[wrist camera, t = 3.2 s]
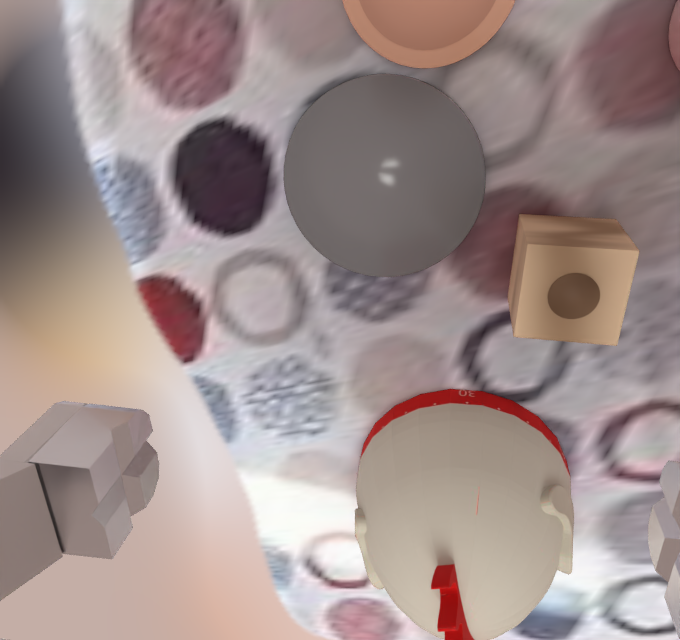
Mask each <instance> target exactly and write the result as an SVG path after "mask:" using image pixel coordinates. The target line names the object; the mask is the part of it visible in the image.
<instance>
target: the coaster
mask: <svg viewBox="0 0 680 640" xmlns="http://www.w3.org/2000/svg"><path fill="white" fill-rule="evenodd" d="M284 187H285V194H286V198H287V202H288V206H289V208H290V211H291V214H292V216H293V218H294V220H295V222H296V224H297V226H298V228H299V229H300V231H301V232H302V234H303V235H304V237H305V238H306V239H307V240H308V241H309V242H310V244H311V245H312V246H313V247H314V248H315V249H316V250H318V251H319V252H320V253H321V254H322V255H323V256H325V257H326V258H328V259H329V260H330V261H332V262H334V263H335V264H337V265H339V266H341V267H343V268H345V269H348V270H350V271H353V272H356V273H360V274H364V275H369V276H376V277H395V276H403V275H408V274H412V273H416V272H418V271H421V270H424V269H426V268H428V267H430V266H432V265H434V264H436V263H438V262H439V261H441V260H442V259H444V258H445V257H446V256H448V255H449V254H450V253H451V252H452V251H453V250H454V249H456V248H457V247H458V246H459V244H460V243H461V242H462V241H463V240H464V239H465V237H466V236H467V234H468V233H469V231H470V230H471V228H472V227H473V225H474V223H475V221H476V218H477V216H478V214H479V211H480V208H481V205H482V202H483V196H484V191H485V164H484V157H483V152H482V148H481V144H480V142H479V139H478V137H477V134H476V132H475V130H474V128H473V126H472V124H471V123H470V121H469V119H468V118H467V116H466V115H465V114H464V112H463V111H462V110H461V109H460V108H459V107H458V106H457V104H456V103H455V102H454V101H453V100H452V99H450V98H449V97H448V96H447V95H445V94H444V93H443V92H441V91H440V90H438V89H437V88H435V87H433V86H431V85H429V84H428V83H425V82H423V81H420V80H417V79H415V78H411V77H407V76H403V75H395V74H373V75H367V76H362V77H358V78H355V79H352V80H349V81H347V82H344V83H342V84H340V85H339V86H337V87H335V88H333V89H331V90H330V91H328V92H327V93H325V94H324V95H323V96H321V97H320V98H319V99H318V100H317V101H316V102H315V103H314V104H312V105H311V106H310V108H309V109H308V110H307V111H306V112H305V114H304V115H303V116H302V117H301V119H300V121H299V122H298V124H297V126H296V127H295V129H294V131H293V134H292V136H291V138H290V141H289V144H288V148H287V151H286V156H285V162H284Z"/></svg>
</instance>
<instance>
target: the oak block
mask: <svg viewBox="0 0 680 640" xmlns="http://www.w3.org/2000/svg"><path fill="white" fill-rule="evenodd" d="M638 255H639V250H638V248H637V247H636V246H635V244H634V243H633V241H632V240H631V239H630V237H629V236H628V235H627V233H626V232H625V231H624V229H623V228H622V226H621V225H620V224H619V222H618V221H617V220H616V219H603V218H584V217H566V216H548V215H529V214H519V220H518V227H517V234H516V241H515V248H514V255H513V262H512V270H511V277H510V284H509V291H508V303H509V310H510V316H511V323H512V329H513V336H514V337H520V338H532V339H544V340H556V341H567V342H579V343H591V344H602V345H614V346H617V344H618V339H619V335H620V331H621V327H622V323H623V318H624V314H625V310H626V306H627V302H628V297H629V293H630V289H631V285H632V280H633V276H634V272H635V268H636V264H637V259H638Z"/></svg>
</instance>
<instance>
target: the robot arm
mask: <svg viewBox="0 0 680 640" xmlns="http://www.w3.org/2000/svg"><path fill="white" fill-rule="evenodd" d="M152 431H153V429H152V425H151V421H150V417H149V414H147V413H146V412H145V411H143V410H138V409H130V408H121V407H113V406H105V405H97V404H96V405H95V404H85V403H76V402H66V401H63V402H59V403H55V404H54V405H53V406H52V407H51V408H50V409H49V410H47V411H46V413H44V414H43V415H42V416H41V417H40V418H39V419H38V420H37V421H36V422H35V423H34V424H33V425H32V426H31V427H30V428H29V429H27V430H26V431H25V432H24V433H23V434H22V435H21V436H20V437H19V438H18V439H17V440H16V441H15V442H14V443H13V444H12V445H10V446H9V447H8V448H7V449H6V450H5V451H4V452H3V453H2V454H1V455H0V601H1V600H2V599H3V598H5V597H6V596H8V595H9V594H11V593H12V592H13V591H15V590H16V589H18V588H19V587H20V586H22V585H23V584H25V583H26V582H27V581H29V580H30V579H32V578H33V577H35V576H36V575H37V574H39V573H40V572H42V571H43V570H45V569H46V568H47V567H49V566H50V565H52V564H53V563H54V562H56V561H57V560H59V559H60V558H61V557H62V554H69V555H79V556H88V557H97V558H106V559H113V557H114V556H115V554H116V553H117V551H118V550H119V548H120V547H121V545H122V544H123V542H124V541H125V539H126V538H127V536H128V534H129V533H130V531H131V530H132V528H133V526H132V522H131V516H132V515H134V514H136V513H137V512H139V511H141V510H142V509H144V508H146V506H147V505H148V503H149V501H150V500H151V498H152V497H153V495H154V492H155V488H156V485H157V481H158V477H159V461H158V456H157V452H156V451H155V450H154V449H153V447H152V446H151V445H150V444H149V443H148V442H147V441H146V440H147V439H148V438H149V436H150V434H151V433H152ZM659 483H660V486H661V488H662V491H663V493H664V495H665V497H663V498H662V499H661V500H659V501H658V502H657V503H655V504H654V505H653V506H652V510H651V514H650V519H649V523H648V544H649V550H650V556H651V559H652V562H653V565H654V568H655V571H656V572H657V573H659V574H660V575H661V576H662V577H663V578H664V579H665V580H666V581H668V582H669V583H668V586H667V590H666V593H665V596H664V597H665V600H666V603H667V606H668V609H669V611H670V614H671V617H672V620H673V623H674V626H675V628H676V631H677V634H678V637H679V639H680V462H679V461H668V462H667V463H666V465H665V466H664V468H663V471H662V474H661V477H660V481H659ZM0 640H8V639H2V638H0Z"/></svg>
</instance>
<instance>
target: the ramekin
mask: <svg viewBox="0 0 680 640" xmlns="http://www.w3.org/2000/svg"><path fill="white" fill-rule="evenodd" d="M342 1H343V4H344V8H345V10H346V13H347V15H348V17H349V20H350V21H351V23H352V25H353V27H354V28H355V30H356V31H357V33H358V34H359V35H360V37H361V38H362V39H363V40H364V41H365V42H366V43H367V44H368V45H369V46H370V47H371V48H372V49H373V50H374V51H376V52H377V53H378V54H380V55H381V56H383V57H385V58H386V59H388V60H390V61H392V62H395V63H398V64H400V65H404V66H408V67H414V68H436V67H441V66H446V65H449V64H452V63H455V62H458V61H460V60H462V59H464V58H466V57H468V56H469V55H471V54H472V53H474V52H475V51H477V50H478V49H480V48H481V47H482V46H483V45H484V44H485V43H487V42H488V41H489V40H490V39H491V38H492V37H493V35H494V34H495V33H496V32H497V31H498V30H499V28H500V27H501V26H502V24H503V23H504V21H505V20H506V18H507V16H508V15H509V13H510V11H511V9H512V7H513V5H514V3H515V0H342Z"/></svg>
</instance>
